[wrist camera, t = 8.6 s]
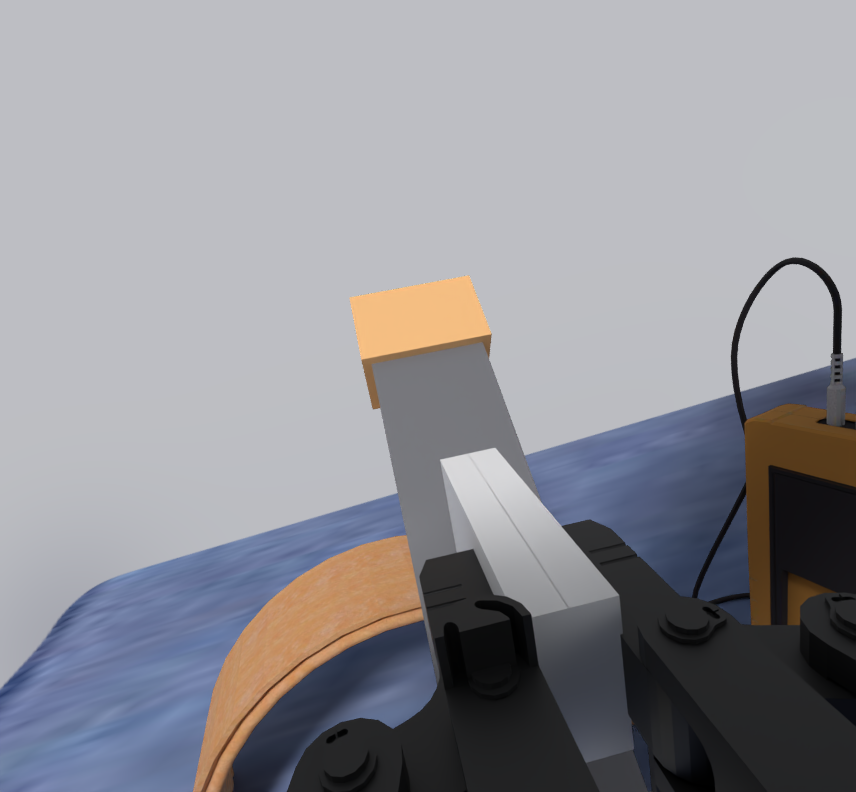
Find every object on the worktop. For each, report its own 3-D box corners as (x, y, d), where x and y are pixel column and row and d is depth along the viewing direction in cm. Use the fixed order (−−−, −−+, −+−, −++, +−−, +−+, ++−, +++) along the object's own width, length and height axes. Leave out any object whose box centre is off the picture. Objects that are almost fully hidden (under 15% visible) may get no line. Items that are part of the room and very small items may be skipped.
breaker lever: (700, 999, 11) (466, 330, 22) (778, 1078, 9) (468, 275, 20) (501, 1067, 11) (361, 351, 22) (517, 1171, 8) (349, 297, 19)
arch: (639, 729, 24) (622, 539, 22) (192, 907, 20) (110, 699, 18) (575, 647, 30) (556, 488, 27) (215, 774, 26) (154, 602, 23)
